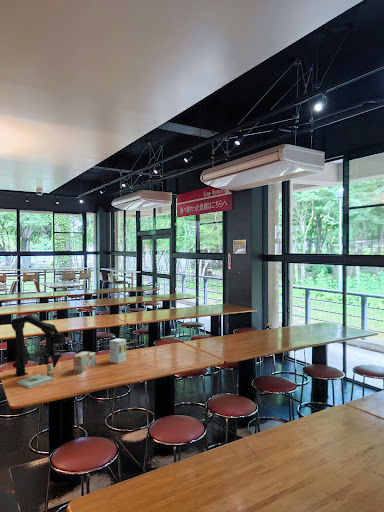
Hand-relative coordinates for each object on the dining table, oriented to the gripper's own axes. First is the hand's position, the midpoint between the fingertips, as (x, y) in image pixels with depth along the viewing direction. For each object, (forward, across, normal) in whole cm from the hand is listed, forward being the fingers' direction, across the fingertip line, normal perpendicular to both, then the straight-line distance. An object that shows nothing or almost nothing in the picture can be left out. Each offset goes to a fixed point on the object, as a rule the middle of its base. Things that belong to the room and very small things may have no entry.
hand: (50, 366), depth 238 cm
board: (+7, +2, -12) cm, 14 cm away
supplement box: (+7, +12, +50) cm, 52 cm away
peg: (+7, 0, 0) cm, 7 cm away
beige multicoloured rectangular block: (+7, +6, +24) cm, 26 cm away
